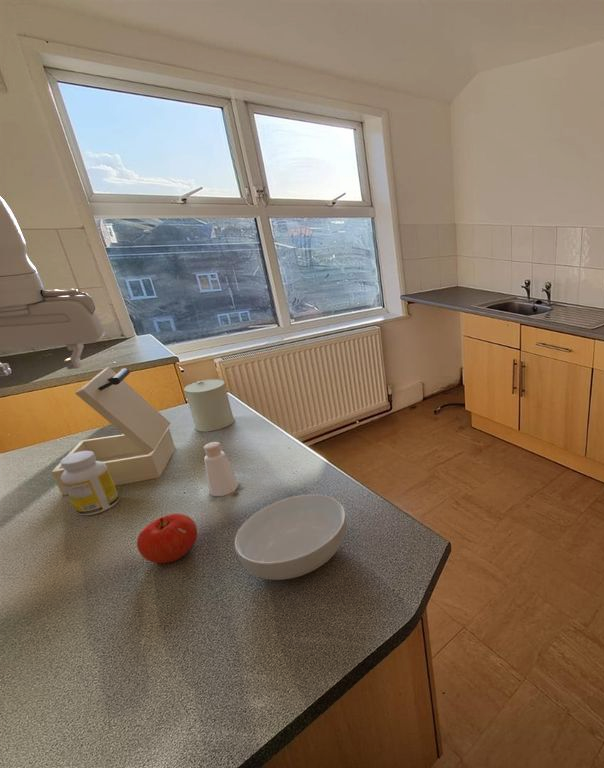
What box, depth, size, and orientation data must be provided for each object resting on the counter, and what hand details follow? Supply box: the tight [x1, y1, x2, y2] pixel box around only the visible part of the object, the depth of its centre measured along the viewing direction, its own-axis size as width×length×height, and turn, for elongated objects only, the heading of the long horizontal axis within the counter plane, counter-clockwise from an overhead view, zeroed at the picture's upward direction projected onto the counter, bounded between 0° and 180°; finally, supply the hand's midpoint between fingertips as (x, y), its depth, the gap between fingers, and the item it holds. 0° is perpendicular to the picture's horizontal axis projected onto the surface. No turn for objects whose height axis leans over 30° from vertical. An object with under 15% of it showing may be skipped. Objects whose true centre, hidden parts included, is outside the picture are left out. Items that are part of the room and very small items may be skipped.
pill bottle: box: [60, 451, 120, 516], centre depth 84 cm, size 6×6×12 cm
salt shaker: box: [203, 441, 240, 497], centre depth 90 cm, size 5×5×11 cm
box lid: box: [74, 366, 171, 454], centre depth 94 cm, size 17×14×6 cm
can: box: [183, 378, 235, 433], centre depth 116 cm, size 9×9×12 cm
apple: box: [136, 513, 198, 564], centre depth 73 cm, size 8×8×8 cm
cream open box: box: [51, 427, 176, 496], centre depth 97 cm, size 17×14×6 cm
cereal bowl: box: [234, 494, 348, 581], centre depth 74 cm, size 17×17×7 cm
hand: (40, 371), depth 75 cm, fingers open, 8 cm apart
